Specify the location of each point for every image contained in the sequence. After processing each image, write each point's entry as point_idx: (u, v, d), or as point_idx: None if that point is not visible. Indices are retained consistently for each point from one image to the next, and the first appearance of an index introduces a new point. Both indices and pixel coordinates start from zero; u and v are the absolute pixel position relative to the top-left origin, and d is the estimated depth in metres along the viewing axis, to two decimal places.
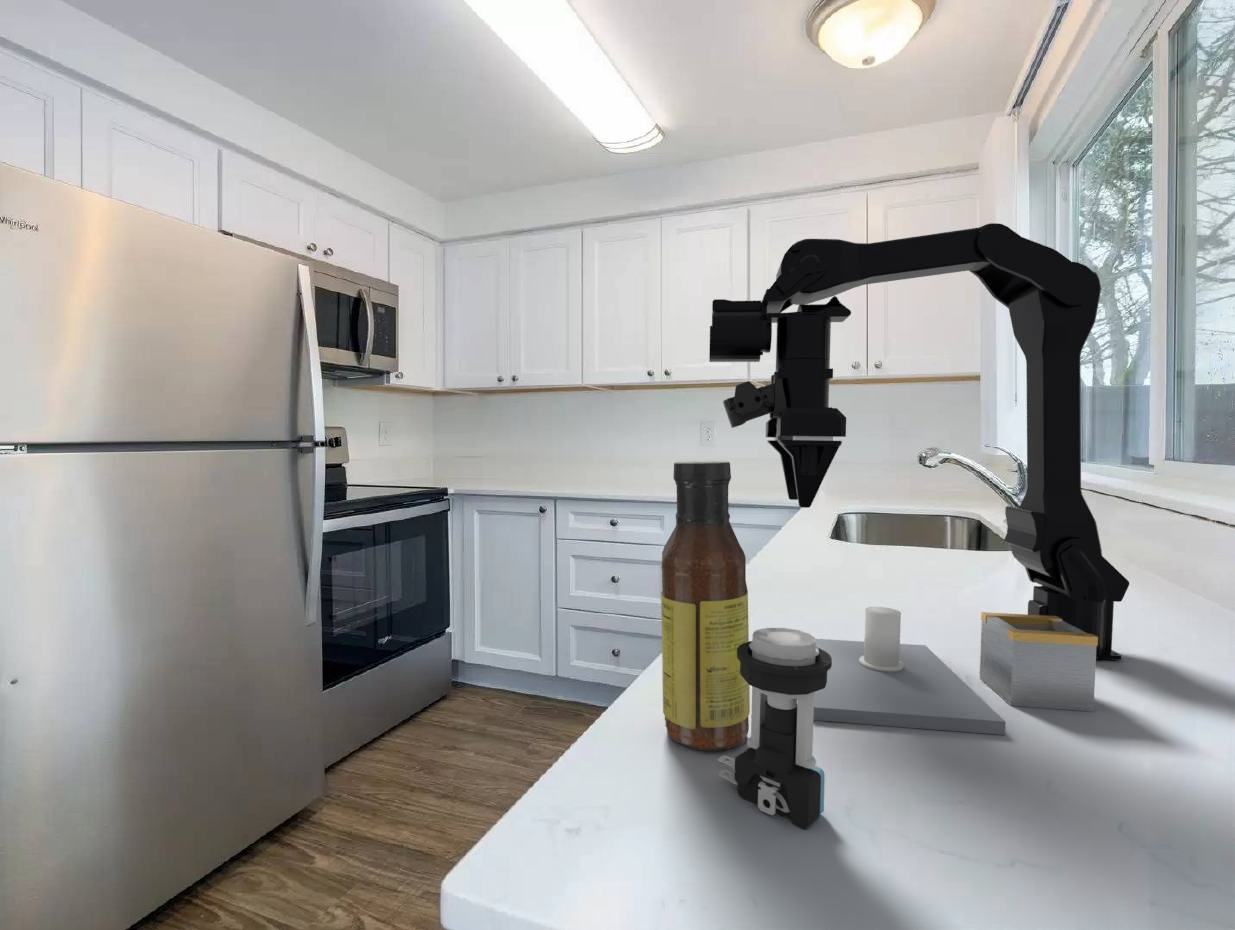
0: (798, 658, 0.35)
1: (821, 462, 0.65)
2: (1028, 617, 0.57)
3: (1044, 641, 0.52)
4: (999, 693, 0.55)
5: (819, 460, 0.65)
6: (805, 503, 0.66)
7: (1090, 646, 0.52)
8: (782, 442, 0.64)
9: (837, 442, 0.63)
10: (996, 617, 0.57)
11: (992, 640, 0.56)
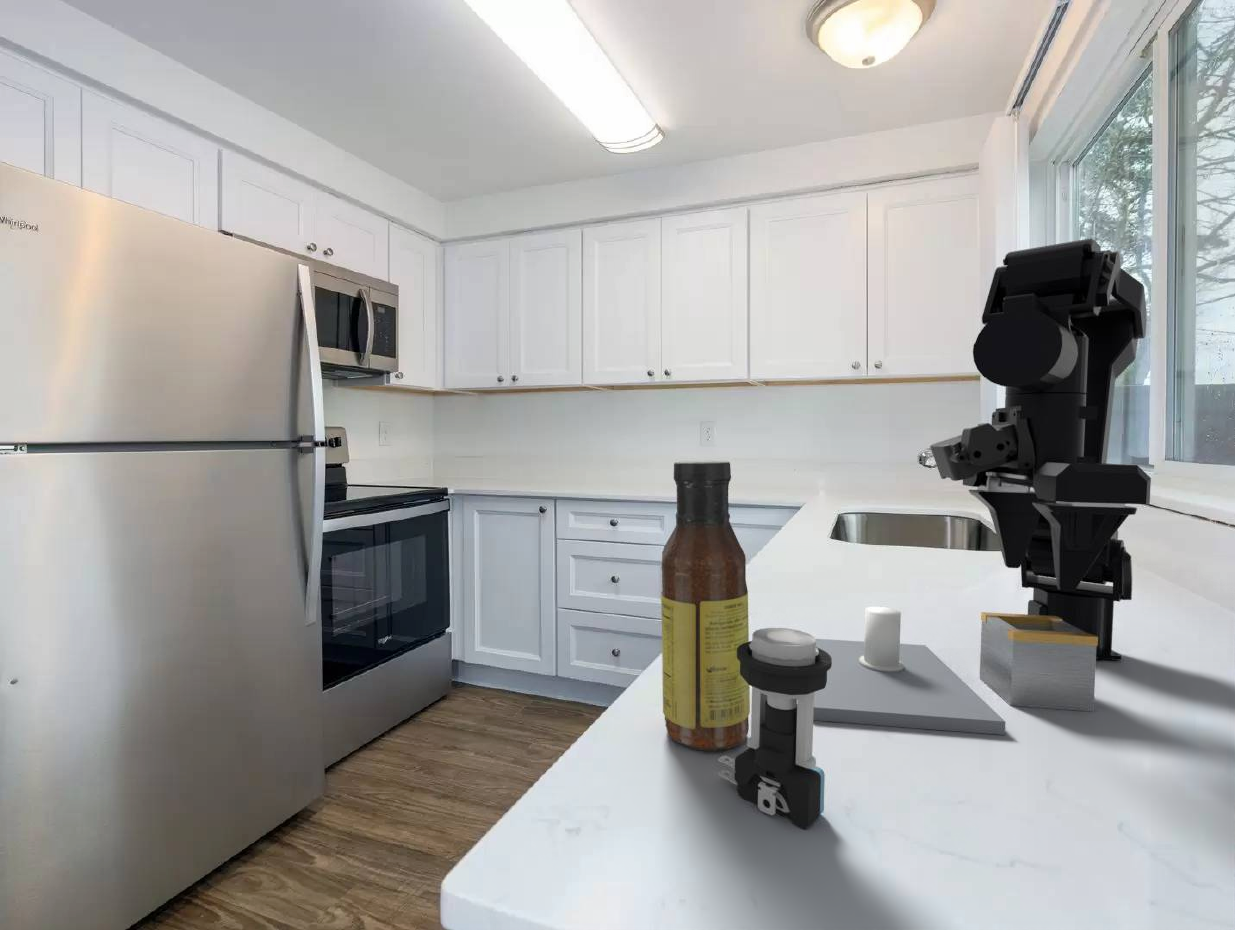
0: (798, 658, 0.35)
1: (1098, 534, 0.48)
2: (1028, 617, 0.57)
3: (1044, 641, 0.52)
4: (999, 693, 0.55)
5: (1095, 531, 0.49)
6: (1068, 585, 0.50)
7: (1090, 646, 0.52)
8: (1052, 508, 0.47)
9: (1133, 510, 0.46)
10: (996, 617, 0.57)
11: (992, 640, 0.56)
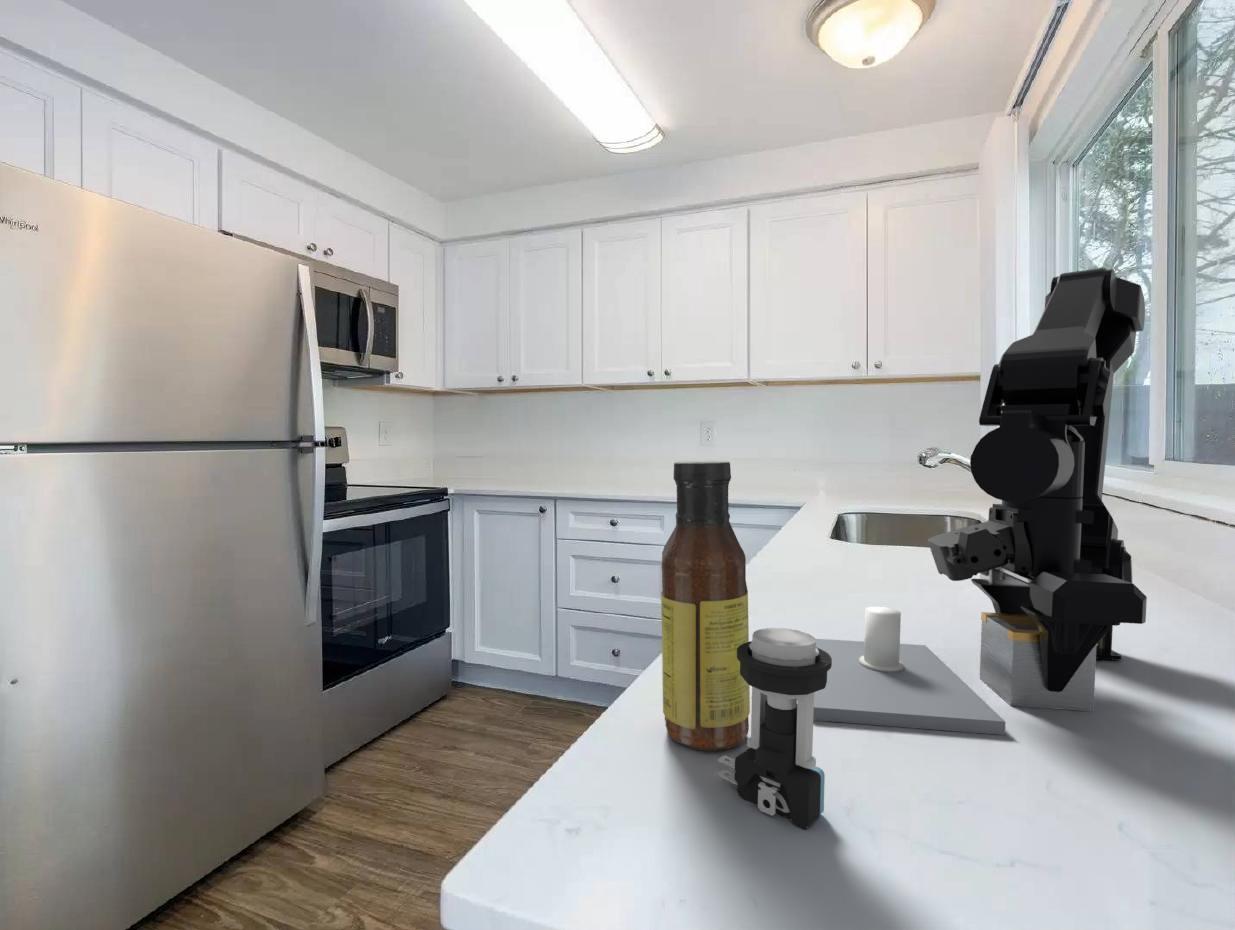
0: (798, 658, 0.35)
1: (1085, 639, 0.50)
2: (1028, 617, 0.57)
3: None
4: (999, 693, 0.55)
5: (1081, 636, 0.50)
6: (1056, 687, 0.52)
7: None
8: (1040, 617, 0.49)
9: None
10: (996, 617, 0.57)
11: (992, 640, 0.56)
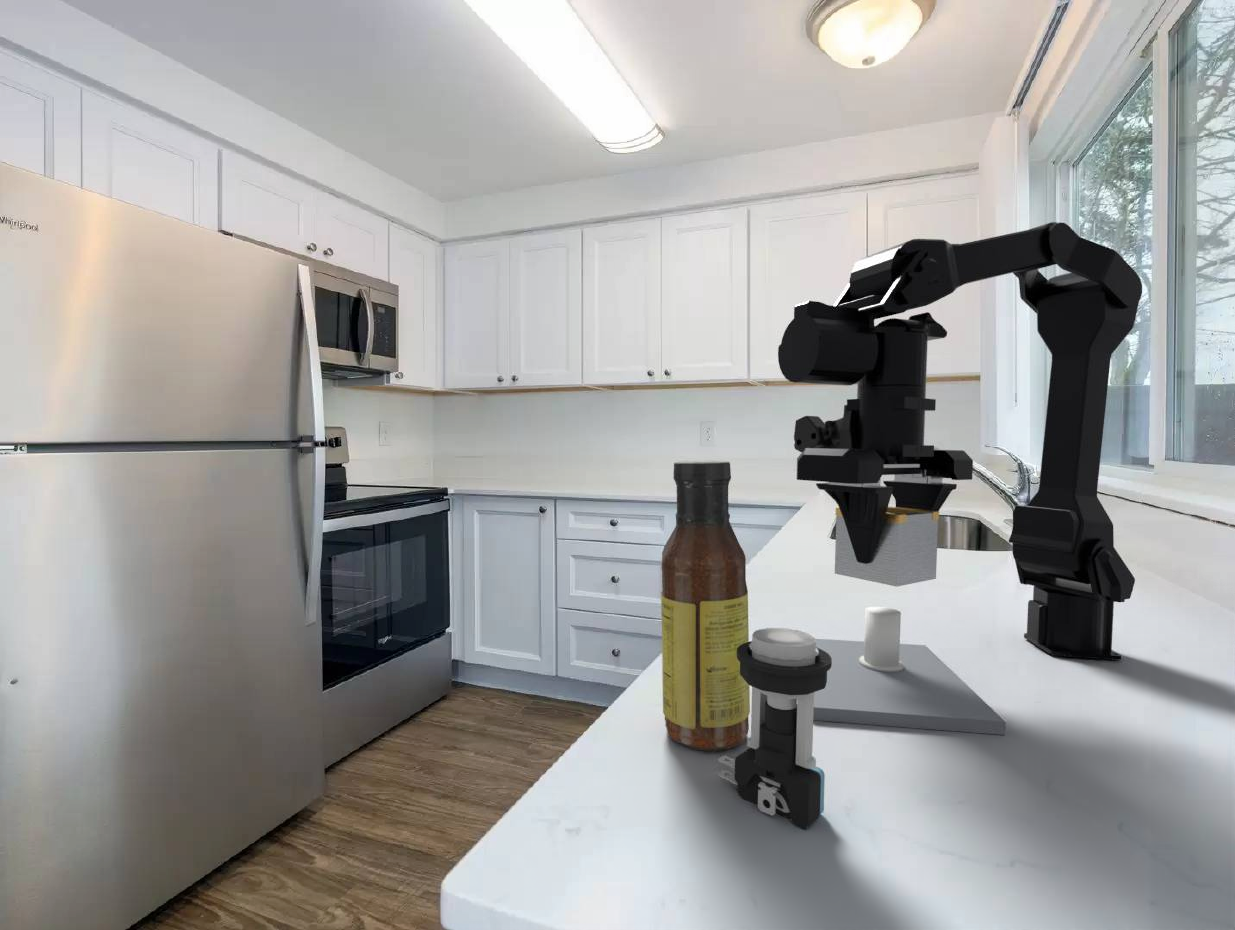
0: (798, 658, 0.35)
1: (867, 511, 0.55)
2: (905, 509, 0.59)
3: None
4: None
5: (866, 509, 0.55)
6: (861, 558, 0.56)
7: (893, 523, 0.54)
8: (817, 486, 0.57)
9: (866, 489, 0.52)
10: None
11: None
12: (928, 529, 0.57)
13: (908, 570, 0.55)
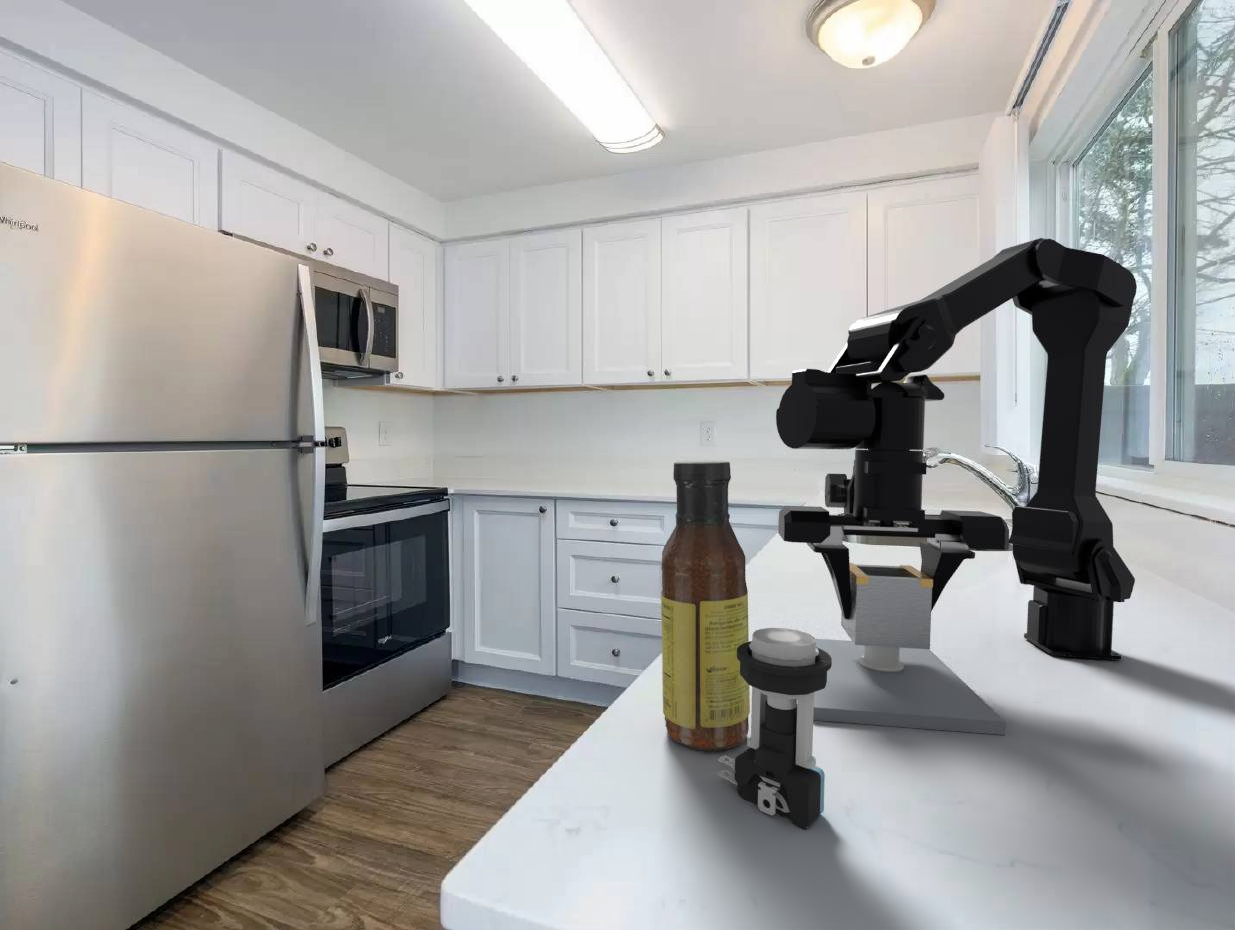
0: (798, 658, 0.35)
1: None
2: (912, 573, 0.58)
3: None
4: None
5: None
6: (842, 613, 0.59)
7: (855, 584, 0.56)
8: None
9: (813, 548, 0.57)
10: (898, 567, 0.61)
11: None
12: (912, 596, 0.55)
13: (875, 632, 0.56)
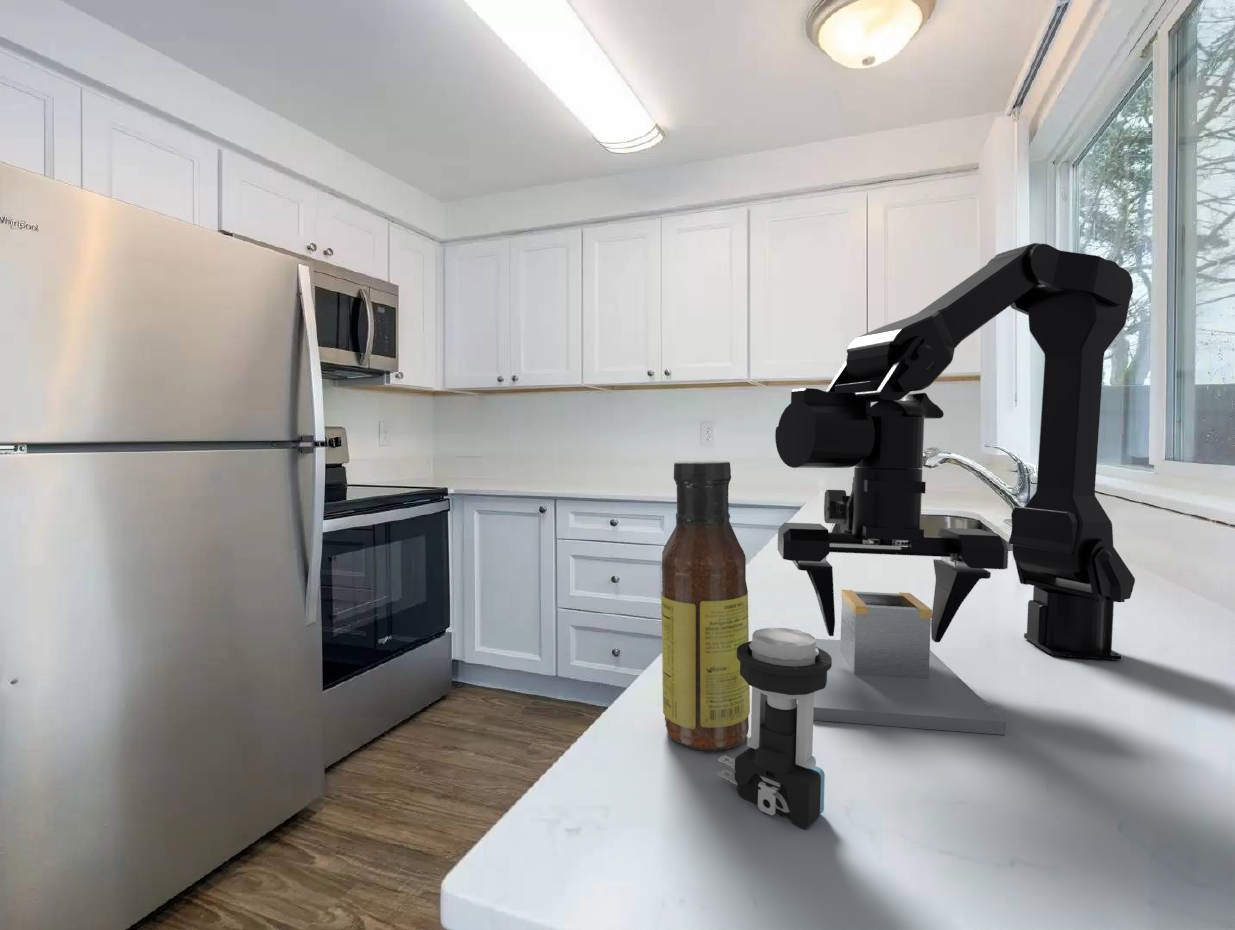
0: (798, 658, 0.35)
1: None
2: (911, 602, 0.58)
3: (846, 601, 0.60)
4: None
5: None
6: (827, 630, 0.59)
7: (854, 613, 0.57)
8: None
9: (797, 565, 0.57)
10: (897, 595, 0.61)
11: None
12: (911, 626, 0.55)
13: (874, 662, 0.56)
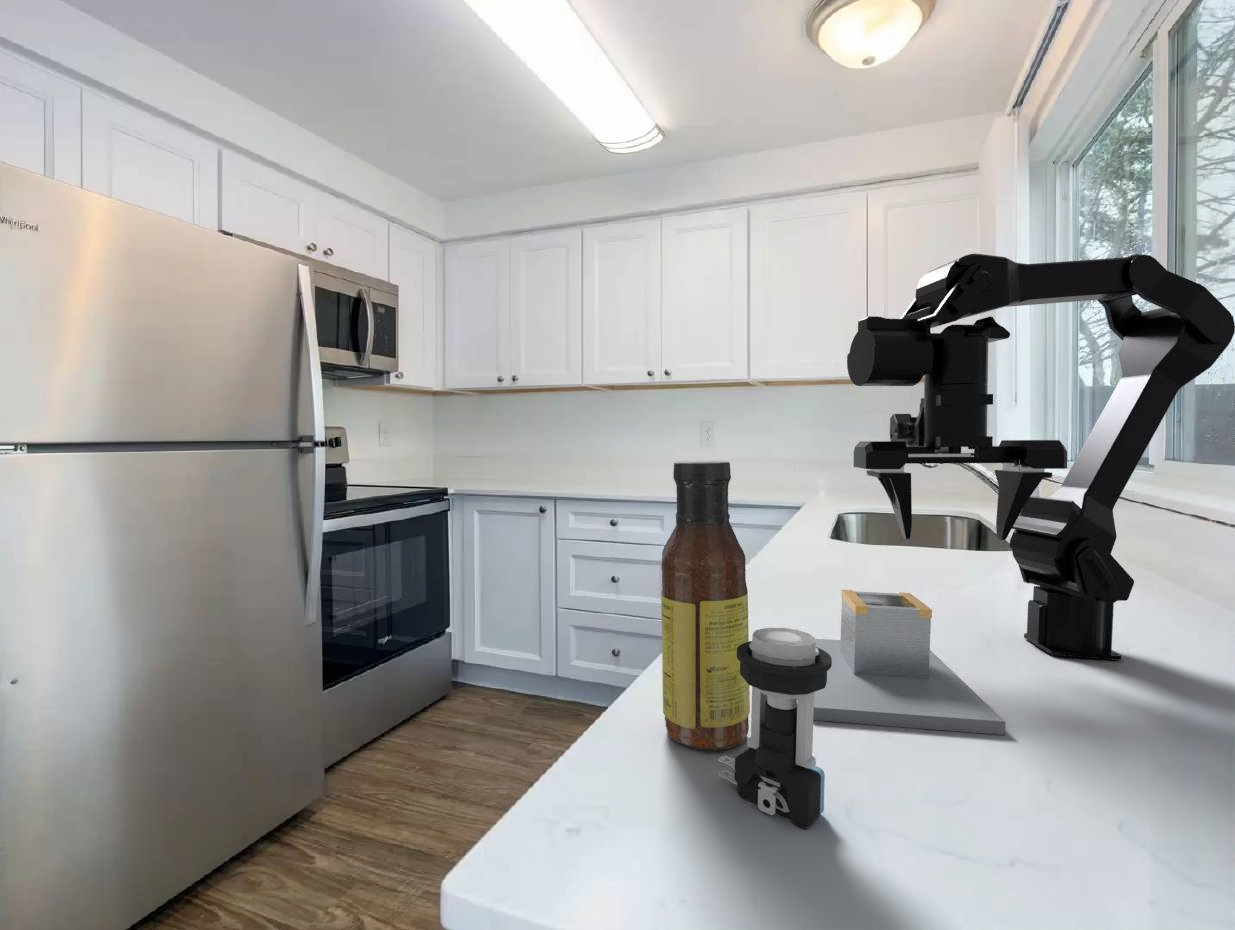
0: (798, 658, 0.35)
1: (895, 494, 0.65)
2: (911, 602, 0.58)
3: (846, 601, 0.60)
4: None
5: None
6: (903, 534, 0.66)
7: (854, 613, 0.57)
8: None
9: (879, 474, 0.64)
10: (897, 595, 0.61)
11: None
12: (911, 626, 0.55)
13: (874, 662, 0.56)
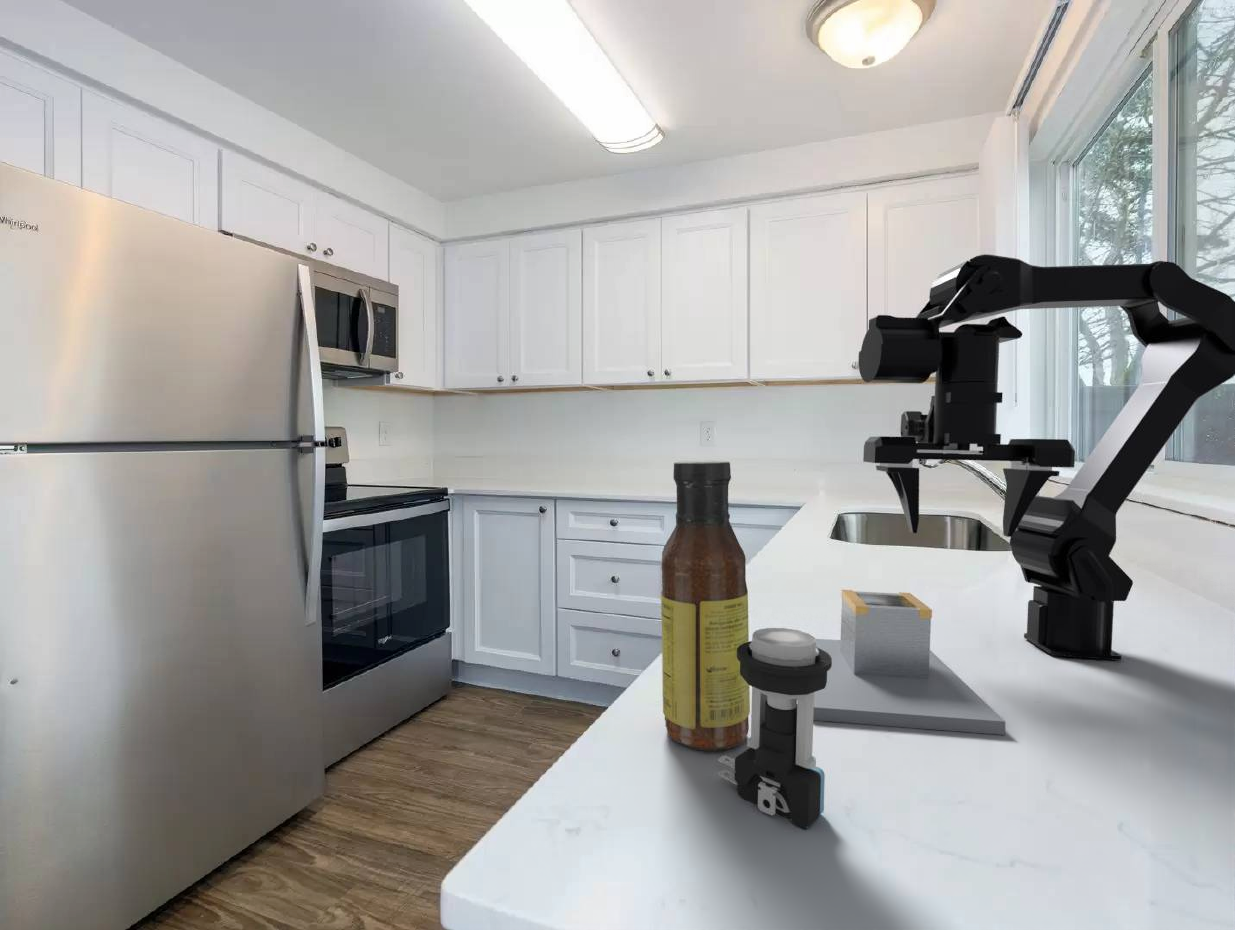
0: (798, 658, 0.35)
1: (903, 488, 0.66)
2: (911, 602, 0.58)
3: (846, 601, 0.60)
4: None
5: None
6: (910, 528, 0.68)
7: (854, 613, 0.57)
8: None
9: (887, 468, 0.65)
10: (897, 595, 0.61)
11: None
12: (911, 626, 0.55)
13: (874, 662, 0.56)
